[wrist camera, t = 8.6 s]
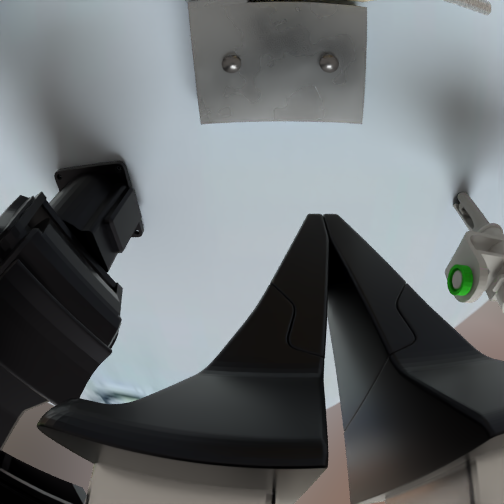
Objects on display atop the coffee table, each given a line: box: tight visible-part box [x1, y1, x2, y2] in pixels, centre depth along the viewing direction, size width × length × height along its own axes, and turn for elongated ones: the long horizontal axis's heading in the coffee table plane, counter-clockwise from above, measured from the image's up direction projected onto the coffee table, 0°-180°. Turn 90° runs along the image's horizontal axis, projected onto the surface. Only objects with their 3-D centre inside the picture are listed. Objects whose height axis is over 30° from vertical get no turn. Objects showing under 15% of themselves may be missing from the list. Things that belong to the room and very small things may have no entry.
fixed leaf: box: [185, 0, 491, 124], centre depth 13 cm, size 18×10×4 cm, turn 93°
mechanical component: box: [445, 192, 504, 313], centre depth 17 cm, size 3×10×10 cm, turn 85°
